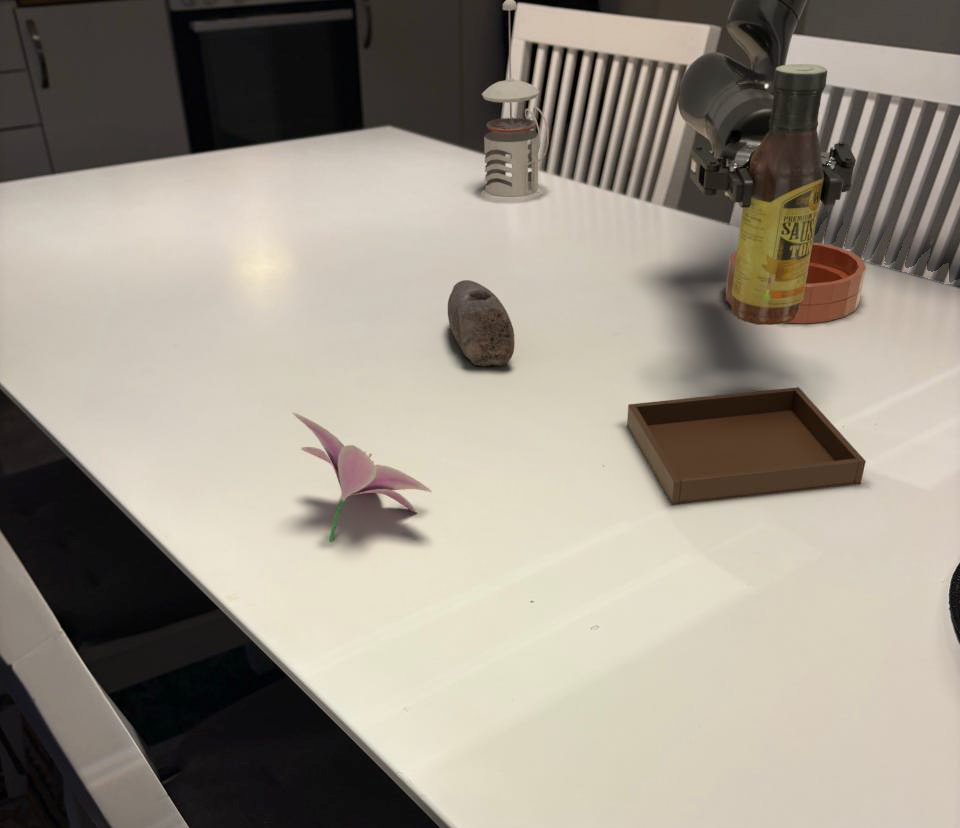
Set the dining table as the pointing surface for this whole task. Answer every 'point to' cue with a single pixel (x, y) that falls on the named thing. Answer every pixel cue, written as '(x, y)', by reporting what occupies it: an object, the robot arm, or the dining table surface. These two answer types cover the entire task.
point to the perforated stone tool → (480, 324)
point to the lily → (358, 470)
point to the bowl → (823, 284)
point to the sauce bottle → (781, 202)
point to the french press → (512, 141)
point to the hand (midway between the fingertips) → (790, 194)
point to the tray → (742, 445)
